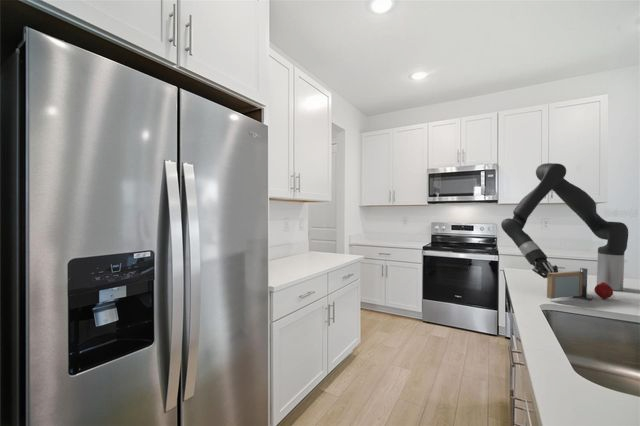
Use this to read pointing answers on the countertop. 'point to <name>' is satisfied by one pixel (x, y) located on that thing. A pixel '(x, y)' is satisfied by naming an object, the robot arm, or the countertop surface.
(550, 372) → the countertop surface
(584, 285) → the post
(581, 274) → the wooden picture frame
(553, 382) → the countertop surface
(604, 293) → the onion
